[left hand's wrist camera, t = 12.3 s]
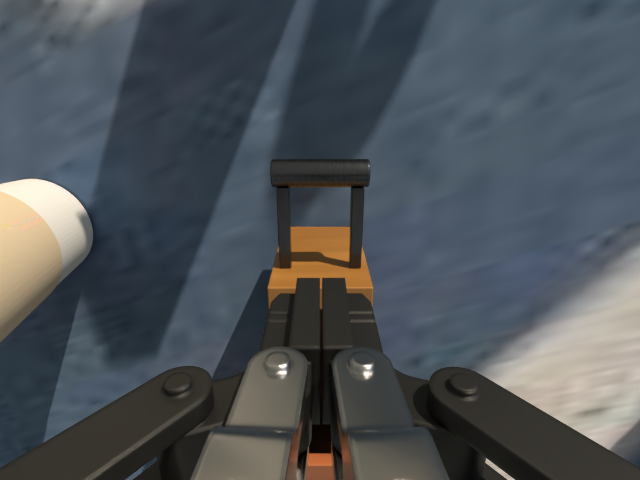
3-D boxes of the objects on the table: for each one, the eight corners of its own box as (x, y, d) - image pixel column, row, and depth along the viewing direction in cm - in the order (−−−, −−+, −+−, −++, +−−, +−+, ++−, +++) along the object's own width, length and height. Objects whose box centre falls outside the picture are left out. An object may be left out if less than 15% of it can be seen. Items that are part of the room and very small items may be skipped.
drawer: (279, 141, 24) (260, 168, 16) (360, 141, 24) (380, 169, 16) (290, 413, 32) (280, 521, 24) (350, 413, 32) (360, 521, 24)
